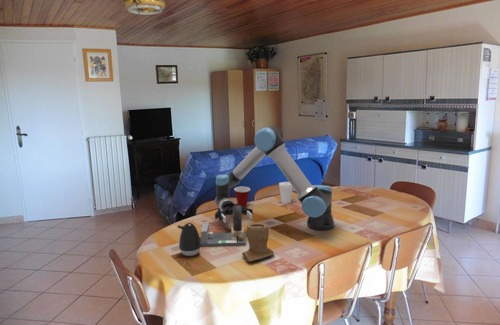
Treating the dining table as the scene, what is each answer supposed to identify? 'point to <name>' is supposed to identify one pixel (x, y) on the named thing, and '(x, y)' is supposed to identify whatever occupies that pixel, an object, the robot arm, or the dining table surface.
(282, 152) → the robot arm
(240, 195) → the plastic cup
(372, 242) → the dining table surface
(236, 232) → the gauge slider
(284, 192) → the foam cup
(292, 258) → the dining table surface
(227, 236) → the gauge base
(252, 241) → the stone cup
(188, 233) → the pump dispenser
